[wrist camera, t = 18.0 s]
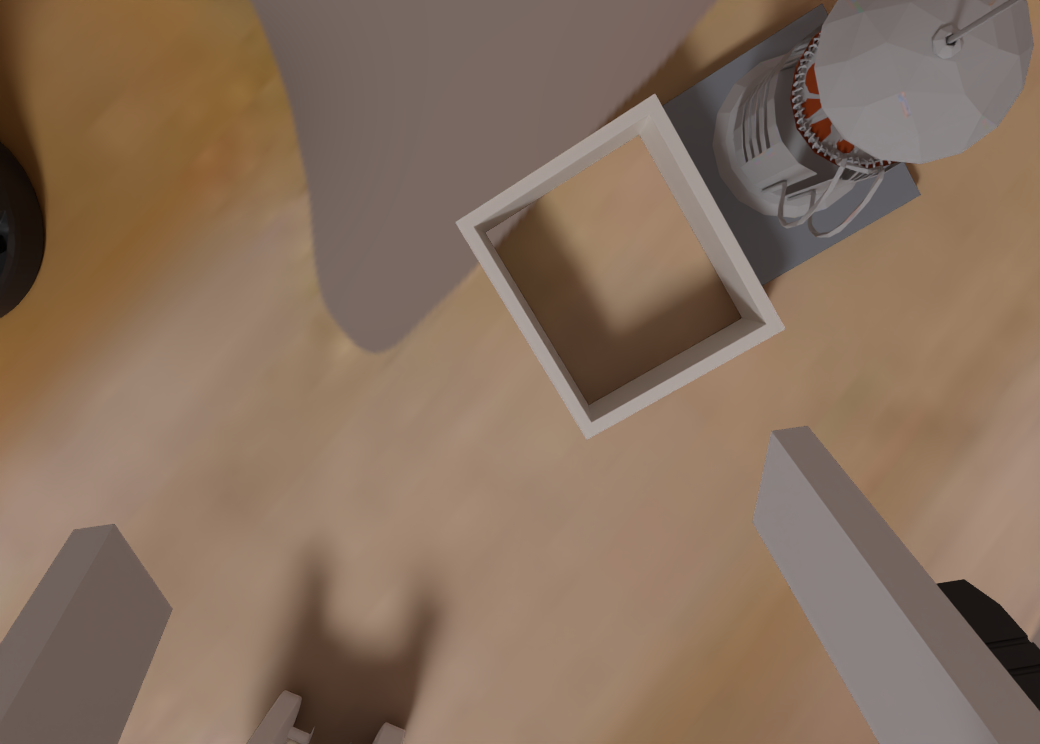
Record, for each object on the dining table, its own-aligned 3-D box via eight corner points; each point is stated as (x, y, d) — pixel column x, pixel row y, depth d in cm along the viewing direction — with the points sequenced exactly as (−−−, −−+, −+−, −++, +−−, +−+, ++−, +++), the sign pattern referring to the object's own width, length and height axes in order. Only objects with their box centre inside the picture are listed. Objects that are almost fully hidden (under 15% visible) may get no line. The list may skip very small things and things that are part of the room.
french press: (903, 78, 36) (1624, -343, 11) (827, 265, 38) (1301, 248, 14) (746, 30, 36) (1121, -483, 12) (679, 218, 38) (880, 119, 14)
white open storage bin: (468, 228, 40) (455, 222, 36) (643, 116, 38) (655, 93, 34) (584, 420, 42) (586, 439, 37) (758, 322, 40) (785, 328, 35)
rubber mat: (656, 112, 38) (658, 107, 37) (815, 10, 37) (822, 3, 36) (753, 287, 40) (758, 287, 39) (911, 196, 38) (920, 194, 37)
